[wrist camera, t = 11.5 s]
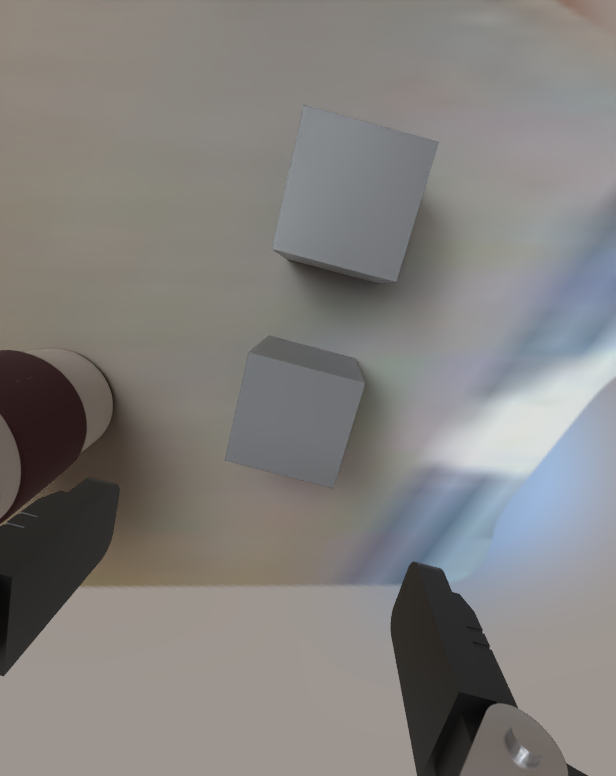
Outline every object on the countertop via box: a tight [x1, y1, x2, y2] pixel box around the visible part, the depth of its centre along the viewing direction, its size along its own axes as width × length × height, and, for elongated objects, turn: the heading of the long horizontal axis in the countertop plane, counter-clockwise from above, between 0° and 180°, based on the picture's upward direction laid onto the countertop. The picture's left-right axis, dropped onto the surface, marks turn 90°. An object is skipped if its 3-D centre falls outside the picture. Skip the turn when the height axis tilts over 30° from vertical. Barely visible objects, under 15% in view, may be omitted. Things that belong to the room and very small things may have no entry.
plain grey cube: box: [225, 336, 365, 488], centre depth 24 cm, size 6×6×7 cm
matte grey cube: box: [272, 105, 439, 283], centre depth 21 cm, size 6×6×7 cm
